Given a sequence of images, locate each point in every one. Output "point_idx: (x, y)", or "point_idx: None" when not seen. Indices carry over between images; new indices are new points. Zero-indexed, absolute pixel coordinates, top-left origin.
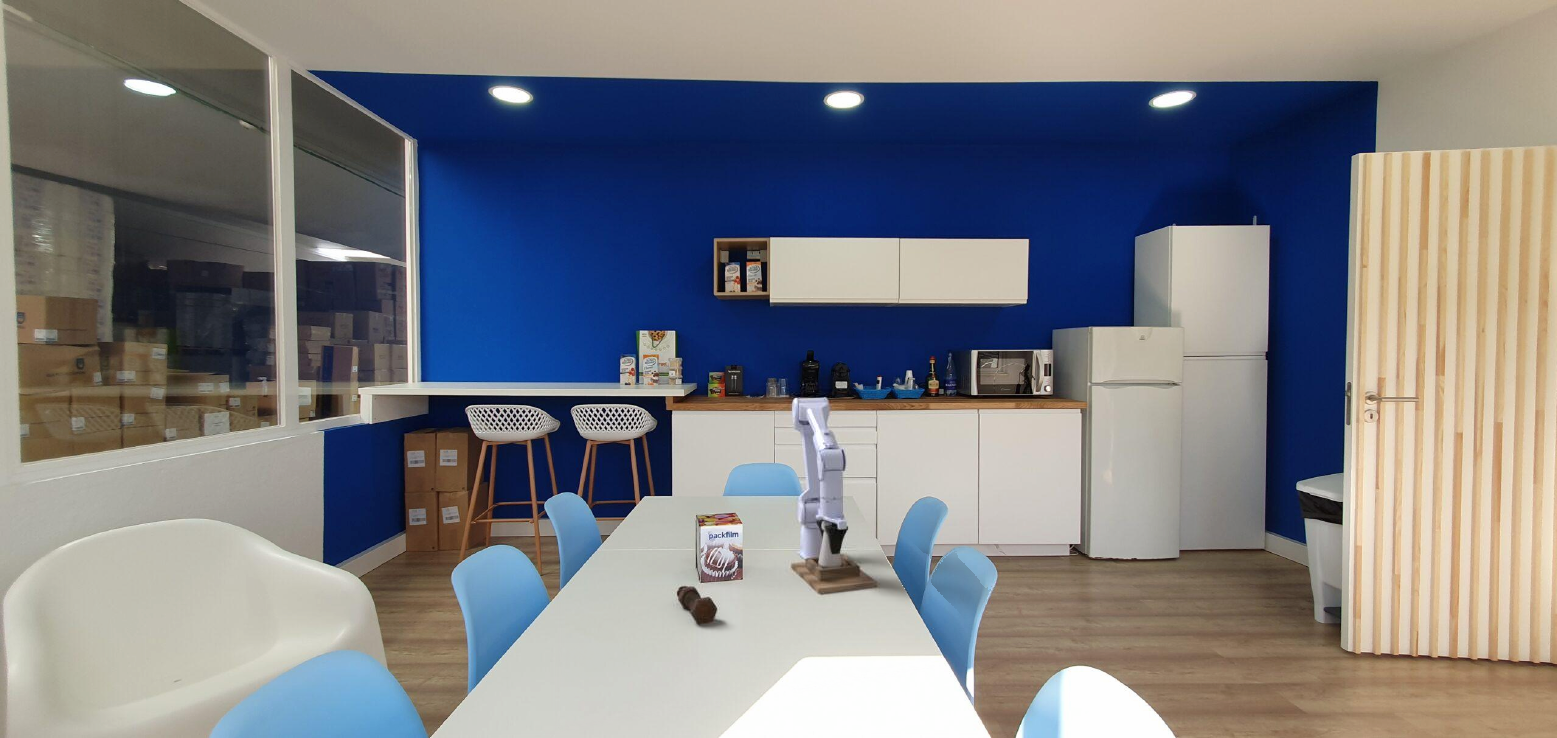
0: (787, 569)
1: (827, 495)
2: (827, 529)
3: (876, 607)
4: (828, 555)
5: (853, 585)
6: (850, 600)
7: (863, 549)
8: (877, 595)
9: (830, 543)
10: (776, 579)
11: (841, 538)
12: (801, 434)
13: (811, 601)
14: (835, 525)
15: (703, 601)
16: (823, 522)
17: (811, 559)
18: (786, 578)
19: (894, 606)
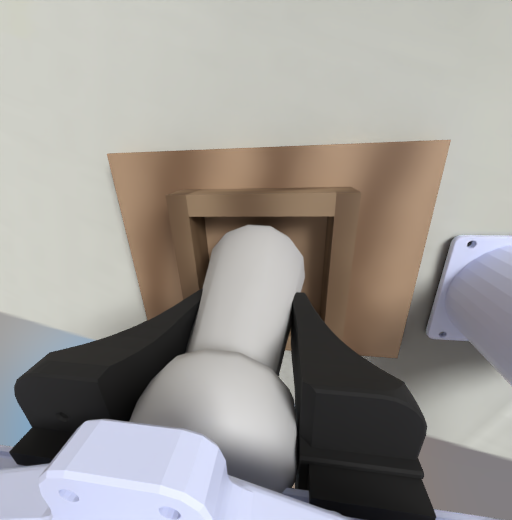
0: (429, 116)
1: None
2: (43, 360)
3: (23, 270)
4: (208, 271)
5: (139, 277)
6: (65, 230)
7: (478, 437)
8: (100, 306)
9: (165, 311)
10: (316, 13)
11: None
12: None
13: (53, 104)
14: (15, 450)
15: None
16: (188, 422)
17: (330, 214)
18: (311, 73)
19: (32, 308)
